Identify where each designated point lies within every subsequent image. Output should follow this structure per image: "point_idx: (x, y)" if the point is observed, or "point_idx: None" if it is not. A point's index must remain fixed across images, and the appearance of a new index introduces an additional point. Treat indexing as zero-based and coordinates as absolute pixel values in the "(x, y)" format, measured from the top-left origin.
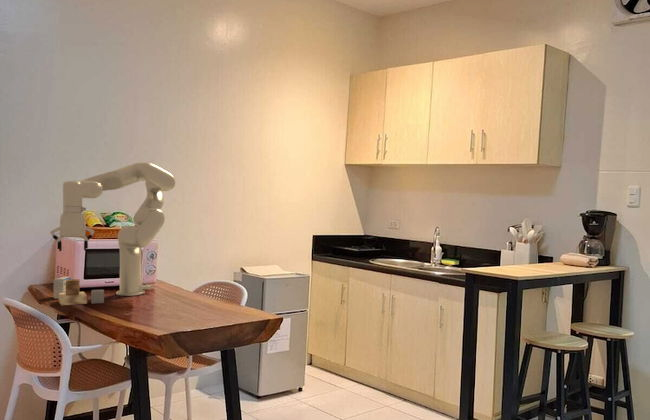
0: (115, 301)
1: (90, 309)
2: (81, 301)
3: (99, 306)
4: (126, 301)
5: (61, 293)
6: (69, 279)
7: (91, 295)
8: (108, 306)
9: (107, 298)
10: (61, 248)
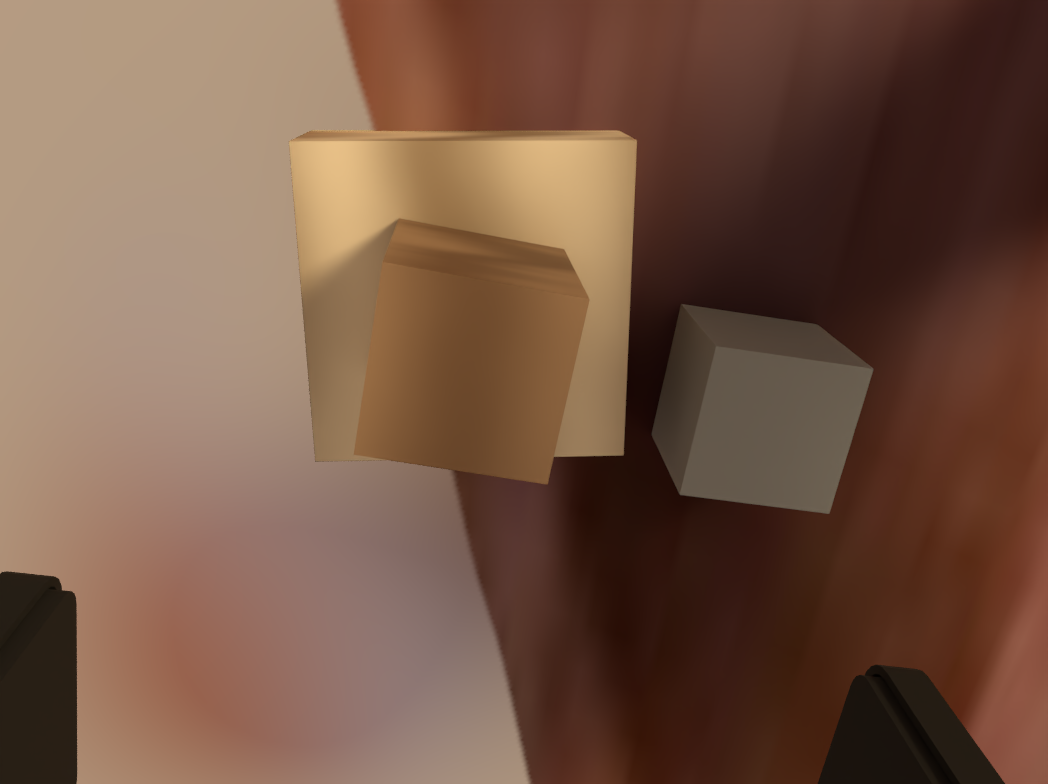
0: (915, 417)
1: (584, 728)
2: None
3: (691, 623)
4: (1015, 464)
5: (327, 181)
6: (422, 280)
7: (672, 475)
8: (768, 654)
9: (901, 171)
10: (43, 683)
